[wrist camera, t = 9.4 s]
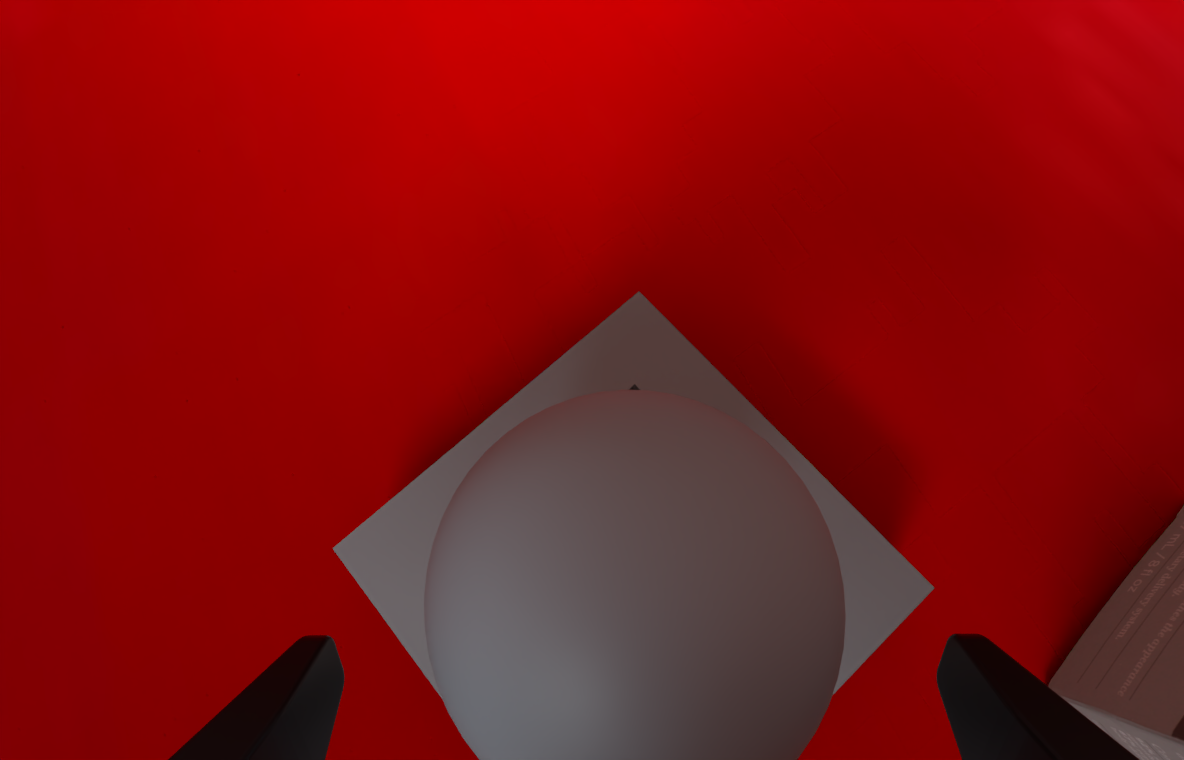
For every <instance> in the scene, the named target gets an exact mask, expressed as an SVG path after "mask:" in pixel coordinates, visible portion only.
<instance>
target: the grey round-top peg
mask: <svg viewBox="0 0 1184 760" xmlns="http://www.w3.org/2000/svg"><path fill="white" fill-rule="evenodd" d="M424 620H425V633H426V640H427V647H428V654H429V658H430V662H431V666H432V669H433V673H434V677H435V680H436V684H437V686H438V689H439V691H440V694H441V696H442V698H443V701H444V703H445V706H446V708H447V711H448V713H449V714H450V716H451V718H452V720H453V721H454V723H455V725H456V727H457V728H458V730H459V732H460V733H461V735H462V737H463V739H464V740H465V741H466V743H467V744H468V745H469V747H470V748H471V749H472V750H473V752H474V753H475V754H476V756H477V757H478V758H479V760H797V759H798V758H799V756H800V755H801V753H802V752H803V750H804V749H805V747H806V746H807V744H808V743H809V741H810V740H811V738H812V737H813V736H814V734H815V732H816V730H817V728H818V726H819V724H820V722H821V720H822V718H823V716H824V714H825V712H826V710H827V708H828V706H829V703H830V700H831V697H832V694H833V691H834V688H835V685H836V682H837V679H838V675H839V670H840V665H841V660H842V655H843V649H844V637H845V621H846V612H845V597H844V585H843V580H842V575H841V569H840V564H839V559H838V556H837V552H836V549H835V546H834V543H833V540H832V537H831V534H830V531H829V529H828V526H827V524H826V522H825V520H824V518H823V516H822V514H821V511H820V509H819V507H818V505H817V503H816V502H815V500H814V498H813V497H812V495H811V494H810V492H809V490H808V489H807V487H806V486H805V484H804V482H803V481H802V480H801V478H800V477H799V476H798V475H797V473H796V472H795V471H794V470H793V468H792V467H791V466H790V465H789V463H788V462H787V461H786V460H785V459H784V458H783V457H782V456H781V455H780V454H779V453H778V452H777V451H776V450H775V449H774V448H773V447H772V446H771V445H770V444H769V443H768V442H767V441H766V440H764V439H763V438H762V437H760V436H759V435H758V434H756V433H755V432H754V431H752V430H751V429H750V428H749V427H747V426H746V425H745V424H743V423H741V422H739V421H738V420H736V419H734V418H732V417H731V416H729V415H727V414H726V413H724V412H722V411H720V410H717V409H715V408H713V407H710V406H708V405H706V404H703V403H701V402H699V401H695V400H692V399H688V398H685V397H681V396H678V395H674V394H669V393H662V392H656V391H649V390H615V391H605V392H597V393H593V394H588V395H584V396H580V397H575V398H572V399H569V400H566V401H564V402H561V403H558V404H556V405H553V406H550V407H548V408H546V409H544V410H542V411H541V412H539V413H537V414H535V415H533V416H531V417H529V418H527V419H526V420H524V421H523V422H521V423H520V424H518V425H517V426H516V427H514V428H513V429H511V430H510V431H508V432H507V433H506V434H505V435H503V436H502V437H501V438H500V439H499V440H498V441H497V442H496V443H495V444H493V445H492V446H491V447H490V448H489V449H488V450H487V451H486V452H485V453H484V454H483V455H482V457H481V458H480V459H479V460H478V461H477V462H476V463H475V465H474V466H473V467H472V468H471V469H470V470H469V472H468V473H467V475H466V476H465V478H464V479H463V481H462V482H461V484H460V485H459V487H458V488H457V490H456V491H455V493H454V495H453V497H452V499H451V501H450V503H449V505H448V507H447V509H446V511H445V513H444V515H443V517H442V519H441V522H440V525H439V528H438V531H437V533H436V536H435V539H434V542H433V546H432V550H431V554H430V559H429V563H428V567H427V574H426V584H425V594H424Z"/></svg>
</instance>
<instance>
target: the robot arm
mask: <svg viewBox="0 0 1184 760" xmlns="http://www.w3.org/2000/svg"><path fill="white" fill-rule="evenodd" d="M937 684H938V688H939V691H940V694H941V697H942V700H943V703H944V706H945V709H946V712H947V715H948V718H949V721H950V724H951V727H952V730H953V733H954V736H955V739H956V742H957V745H958V748H959V751H960V754H961V757H962V760H1140V759H1138V758H1137V757H1136V756H1135V755H1133V754H1132V753H1131V752H1130V751H1128V750H1127V749H1126V748H1124V747H1123V746H1122V745H1121V744H1119V743H1118V742H1117V741H1116V740H1114V739H1113V738H1112V737H1111V736H1109V735H1108V734H1107V733H1106V732H1104V731H1103V730H1102V729H1101V728H1099V727H1098V726H1097V725H1096V724H1094V723H1093V722H1092V721H1091V720H1089V719H1088V718H1087V717H1086V716H1084V715H1083V714H1082V713H1081V712H1079V711H1078V710H1077V709H1076V708H1074V707H1073V706H1072V705H1071V704H1069V703H1068V702H1067V701H1066V700H1064V699H1063V698H1062V697H1061V696H1059V695H1058V694H1057V693H1056V692H1054V691H1053V690H1052V689H1051V688H1049V687H1048V686H1047V685H1046V684H1044V683H1043V682H1042V681H1041V680H1039V679H1038V678H1037V677H1036V676H1034V675H1033V674H1032V673H1031V672H1029V671H1028V670H1027V669H1025V668H1024V667H1023V666H1022V665H1020V664H1019V663H1018V662H1017V661H1015V660H1014V659H1013V658H1012V657H1010V656H1009V655H1008V654H1007V653H1005V652H1004V651H1003V650H1002V649H1000V648H999V647H998V646H997V645H995V644H994V643H993V642H992V641H990V640H989V639H988V638H986V637H984V636H982V635H980V634H953V635H952V636H950V637H949V638H948V640H947V643H946V646H945V649H944V652H943V655H942V658H941V660H940V663H939V666H938V669H937ZM343 686H344V670H343V667H342V664H341V661H340V658H339V655H338V652H337V648H336V645H335V642H334V640H333V639H332V638H331V637H330V636H327V635H309V636H304V637H302V638H300V639H299V640H297V641H296V642H295V643H294V644H293V645H292V646H291V647H290V648H289V649H287V650H286V651H285V652H284V653H283V654H282V655H281V656H280V657H279V658H278V659H277V660H276V661H274V662H273V663H272V664H271V665H270V666H269V667H268V668H267V669H266V670H265V671H264V672H263V673H261V674H260V675H259V676H258V677H257V678H256V679H255V680H254V681H253V682H252V683H251V684H250V685H248V686H247V687H246V688H245V689H244V690H243V691H242V692H241V693H240V694H239V695H238V696H237V697H235V698H234V699H233V700H232V701H231V702H230V703H229V704H228V705H227V706H226V707H225V708H224V709H222V710H221V711H220V712H219V713H218V714H217V715H216V716H215V717H214V718H213V719H212V720H211V721H209V722H208V723H207V724H206V725H205V726H204V727H203V728H202V729H201V730H200V731H199V732H198V733H196V734H195V735H194V736H193V737H192V738H191V739H190V740H189V741H188V742H187V743H186V744H185V745H183V746H182V747H181V748H180V749H179V750H178V751H177V752H176V753H175V754H174V755H173V756H172V757H170V758H169V759H168V760H325V757H326V753H327V750H328V746H329V742H330V738H331V734H332V730H333V726H334V722H335V718H336V714H337V710H338V706H339V703H340V699H341V695H342V691H343Z"/></svg>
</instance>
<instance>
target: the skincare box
mask: <svg viewBox="0 0 1184 760" xmlns="http://www.w3.org/2000/svg"><path fill="white" fill-rule="evenodd" d="M1048 687H1049V688H1051V689H1052V690H1053V691H1054V692H1056V693H1057V694H1058V695H1059V696H1061V697H1062V698H1063V699H1064V700H1066V701H1067V702H1068V703H1069V704H1071V705H1072V706H1073V707H1074V708H1076V709H1077V710H1078V711H1079V712H1081V713H1082V714H1083V715H1084V716H1086V717H1087V718H1088V719H1089V720H1091V721H1092V722H1093V723H1094V724H1096V725H1097V726H1098V727H1099V728H1101V729H1102V730H1103V731H1104V732H1106V733H1107V734H1108V735H1109V736H1111V737H1112V738H1113V739H1114V740H1116V741H1117V742H1118V743H1119V744H1121V745H1122V746H1123V747H1124V748H1126V749H1127V750H1128V751H1130V752H1131V753H1132V754H1133V755H1135V756H1136V757H1137V758H1138V759H1140V760H1184V506H1183V507H1182V509H1181V510H1180V511H1179V513H1178V514H1177V517H1176V519H1175V520H1174V521H1173V522H1172V523H1171V525H1170V526H1169V527H1168V528H1167V529H1166V530H1165V531H1164V532H1163V534H1162V535H1161V536H1160V537H1159V538H1158V540H1157V541H1156V542H1155V543H1154V544H1153V545H1152V547H1151V548H1150V549H1149V550H1148V551H1147V553H1146V554H1145V555H1144V556H1143V557H1142V559H1141V560H1140V561H1139V562H1138V564H1137V565H1136V566H1135V567H1134V568H1133V570H1132V571H1131V572H1130V573H1129V575H1128V576H1127V577H1126V578H1125V580H1124V581H1123V582H1122V584H1121V585H1120V586H1119V587H1118V589H1117V590H1116V591H1115V592H1114V594H1113V595H1112V596H1111V598H1110V599H1109V601H1108V602H1107V603H1106V604H1105V606H1104V607H1103V608H1102V609H1101V611H1100V612H1099V613H1098V615H1097V616H1096V618H1095V619H1094V620H1093V622H1092V623H1091V624H1090V626H1089V627H1088V628H1087V630H1086V631H1085V632H1084V634H1083V635H1082V636H1081V638H1080V639H1079V641H1078V642H1077V643H1076V645H1075V646H1074V648H1073V649H1072V651H1071V652H1070V653H1069V655H1068V656H1067V658H1066V659H1065V661H1064V662H1063V664H1062V665H1061V667H1060V668H1059V669H1058V671H1057V672H1056V674H1055V675H1054V676H1053V678H1052V679H1051V681H1050V683H1049V686H1048Z"/></svg>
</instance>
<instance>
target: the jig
mask: <svg viewBox="0 0 1184 760" xmlns="http://www.w3.org/2000/svg"><path fill="white" fill-rule="evenodd" d="M615 390H649V391H656V392H662V393H669V394H674V395H678V396H681V397H685V398H688V399H692V400H695V401H699V402H701V403H703V404H706V405H708V406H710V407H713V408H715V409H717V410H720V411H722V412H724V413H726V414H727V415H729V416H731V417H732V418H734V419H736V420H738V421H739V422H741V423H743V424H745V425H746V426H747V427H749V428H750V429H751V430H752V431H754V432H755V433H756V434H758V435H759V436H760V437H762V438H763V439H764V440H766V441H767V442H768V443H769V444H770V445H771V446H772V447H773V448H774V449H775V450H776V451H777V452H778V453H779V454H780V455H781V456H782V457H783V458H784V459H785V460H786V461H787V462H788V463H789V465H790V466H791V467H792V468H793V470H794V471H795V472H796V473H797V475H798V476H799V477H800V478H801V480H802V481H803V482H804V484H805V486H806V487H807V489H808V490H809V492H810V494H811V495H812V497H813V498H814V500H815V502H816V503H817V505H818V507H819V509H820V511H821V514H822V516H823V518H824V520H825V522H826V524H827V526H828V529H829V531H830V534H831V537H832V540H833V543H834V546H835V549H836V552H837V556H838V559H839V564H840V569H841V575H842V580H843V585H844V597H845V612H846V621H845V637H844V649H843V655H842V660H841V665H840V670H839V675H838V679H837V682H836V685H835V688H834V691H833V694H834V693H835V692H836V691H837V690H838V689H839V688H840V687H841V686H842V685H843V684H844V682H845V681H846V680H847V679H848V678H849V677H850V676H851V675H852V674H853V673H854V672H855V671H856V670H857V669H858V668H859V667H860V666H861V665H862V664H863V663H864V661H865V660H866V659H867V658H868V657H869V656H870V655H871V654H872V653H873V652H874V651H875V650H876V649H877V648H878V647H879V646H880V645H881V644H882V643H883V642H884V640H885V639H886V638H887V637H888V636H889V635H890V634H891V633H892V632H893V631H894V630H895V629H896V628H897V627H898V626H899V625H900V624H901V623H902V622H903V621H904V620H905V618H906V617H907V616H908V615H909V614H910V613H911V612H912V611H913V610H914V609H915V608H916V607H917V606H918V605H919V604H920V603H921V602H922V601H923V600H924V599H925V597H926V596H927V595H928V594H929V593H930V592H931V591H932V590H933V589H934V587H933V586H932V585H931V584H930V583H929V582H928V581H927V580H926V579H925V578H924V577H923V576H922V575H921V574H920V573H919V572H918V571H917V570H916V569H915V568H914V567H913V566H912V565H911V564H910V563H909V562H908V561H907V560H906V559H905V558H904V557H903V556H902V555H901V554H900V553H899V552H898V551H897V550H896V549H895V548H894V547H893V546H892V545H891V544H890V543H889V542H888V541H887V540H886V539H885V538H884V537H883V536H882V535H881V534H880V533H879V532H878V531H877V530H876V529H875V528H874V527H873V526H872V525H871V524H870V523H869V522H868V521H867V520H866V519H865V518H864V517H863V516H862V515H861V514H860V513H859V512H858V511H857V510H856V509H855V508H854V507H853V506H852V505H851V504H850V503H849V502H848V501H847V500H846V499H845V498H844V497H843V496H842V495H841V494H840V493H839V492H838V491H837V490H836V489H835V488H834V487H833V486H832V485H831V484H830V483H829V482H828V481H827V480H826V479H825V478H824V477H823V476H822V475H821V474H820V473H819V472H818V471H817V469H816V468H815V467H814V466H813V465H812V464H811V463H810V462H809V461H808V460H807V459H806V458H805V457H804V456H803V455H802V454H801V453H800V452H799V451H798V450H797V449H796V448H795V447H794V446H793V445H792V444H791V443H790V442H789V441H788V440H787V439H786V438H785V437H784V436H783V435H782V434H781V433H780V432H779V431H778V430H777V429H776V428H775V427H774V426H773V425H772V424H771V423H770V422H769V421H768V420H767V419H766V418H765V417H764V416H763V415H762V414H761V413H760V412H759V411H758V410H757V409H756V408H755V407H754V406H753V405H752V404H751V403H750V402H749V401H748V400H747V399H746V398H745V397H744V396H743V395H742V394H741V393H740V392H739V391H738V390H737V389H736V388H735V387H734V386H733V385H732V384H731V383H730V382H729V381H728V380H727V379H726V378H725V377H724V376H723V375H722V374H721V373H720V372H719V371H718V370H717V369H716V368H715V367H714V366H713V365H712V364H711V363H710V362H709V361H708V360H707V359H706V358H705V357H704V356H703V355H702V354H701V353H700V352H699V351H698V350H697V349H696V348H695V347H694V346H693V345H692V344H691V343H690V342H689V341H688V340H687V339H686V338H685V337H684V336H683V335H682V334H681V333H680V332H679V331H678V330H677V329H676V328H675V327H674V326H673V325H672V324H671V323H670V322H669V321H668V320H667V319H666V318H665V317H664V316H663V315H662V314H661V313H660V312H659V311H658V310H657V309H656V308H655V307H654V306H653V305H652V304H651V303H650V302H649V301H648V300H647V299H646V298H645V297H644V296H643V295H642V294H641V293H640V292H638V293H636V294H635V295H634V296H633V297H632V298H630V299H629V300H628V301H627V302H626V303H624V304H623V305H622V306H621V307H620V308H618V309H617V310H616V311H615V312H614V313H612V314H611V315H610V316H609V317H608V318H607V319H605V320H604V321H603V322H602V323H601V324H599V325H598V326H597V327H596V328H595V329H593V330H592V331H591V332H590V333H589V334H587V335H586V336H585V337H584V338H583V339H582V340H580V341H579V342H578V343H577V344H576V345H574V346H573V347H572V348H571V349H570V350H568V351H567V352H566V353H565V354H564V355H562V356H561V357H560V358H559V359H558V360H557V361H555V362H554V363H553V364H552V365H551V366H549V367H548V368H547V369H546V370H545V371H543V372H542V373H541V374H540V375H539V376H537V377H536V378H535V379H534V380H533V381H531V382H530V383H529V384H528V385H527V386H526V387H524V388H523V389H522V390H521V391H520V392H518V393H517V394H516V395H515V396H514V397H512V398H511V399H510V400H509V401H508V402H506V403H505V404H504V405H503V406H502V407H501V408H499V409H498V410H497V411H496V412H495V413H493V414H492V415H491V416H490V417H489V418H487V419H486V420H485V421H484V422H483V423H481V424H480V425H479V426H478V427H477V428H475V429H474V430H473V431H472V432H471V433H470V434H468V435H467V436H466V437H465V438H464V439H462V440H461V441H460V442H459V443H458V444H456V445H455V446H454V447H453V448H452V449H450V450H449V451H448V452H447V453H446V454H445V455H443V456H442V457H441V458H440V459H439V460H437V461H436V462H435V463H434V464H433V465H431V466H430V467H429V468H428V469H427V470H425V471H424V472H423V473H422V474H421V475H420V476H418V477H417V478H416V479H415V480H414V481H412V482H411V483H410V484H409V485H408V486H406V487H405V488H404V489H403V490H402V491H400V492H399V493H398V494H397V495H396V496H394V497H393V498H392V499H391V500H390V501H389V502H387V503H386V504H385V505H384V506H383V507H381V508H380V509H379V510H378V511H377V512H375V513H374V514H373V515H372V516H371V517H369V518H368V519H367V520H366V521H365V522H364V523H362V524H361V525H360V526H359V527H358V528H356V529H355V530H354V531H353V532H352V533H350V534H349V535H348V536H347V537H346V538H344V539H343V540H342V541H341V542H340V543H338V544H337V545H336V546H335V547H334V548H333V550H334V551H335V552H336V554H337V555H338V556H339V558H340V559H341V561H342V562H343V563H344V565H345V566H346V567H347V569H348V570H349V572H350V573H351V574H352V576H353V577H354V578H355V580H356V581H357V583H358V584H359V585H360V587H361V588H362V589H363V591H364V592H365V594H366V595H367V596H368V598H369V599H370V600H371V602H372V603H373V604H374V606H375V607H376V609H377V610H378V611H379V613H380V614H381V615H382V617H383V618H384V620H385V621H386V622H387V624H388V625H389V626H390V628H391V629H392V631H393V632H394V633H395V635H396V636H397V637H398V639H399V640H400V642H401V643H402V644H403V646H404V647H405V648H406V650H407V651H408V653H409V654H410V655H411V657H412V658H413V659H414V661H415V662H416V664H417V665H418V666H419V668H420V669H421V670H422V672H423V673H424V674H425V676H426V677H427V679H428V680H429V681H430V683H431V684H432V685H433V687H434V688H435V690H436V691H437V692H438V694H439V695H440V696H441V694H440V691H439V689H438V686H437V684H436V680H435V677H434V673H433V669H432V666H431V662H430V658H429V654H428V647H427V640H426V633H425V620H424V594H425V584H426V574H427V567H428V563H429V559H430V554H431V550H432V546H433V542H434V539H435V536H436V533H437V531H438V528H439V525H440V522H441V519H442V517H443V515H444V513H445V511H446V509H447V507H448V505H449V503H450V501H451V499H452V497H453V495H454V493H455V491H456V490H457V488H458V487H459V485H460V484H461V482H462V481H463V479H464V478H465V476H466V475H467V473H468V472H469V470H470V469H471V468H472V467H473V466H474V465H475V463H476V462H477V461H478V460H479V459H480V458H481V457H482V455H483V454H484V453H485V452H486V451H487V450H488V449H489V448H490V447H491V446H492V445H493V444H495V443H496V442H497V441H498V440H499V439H500V438H501V437H502V436H503V435H505V434H506V433H507V432H508V431H510V430H511V429H513V428H514V427H516V426H517V425H518V424H520V423H521V422H523V421H524V420H526V419H527V418H529V417H531V416H533V415H535V414H537V413H539V412H541V411H542V410H544V409H546V408H548V407H550V406H553V405H556V404H558V403H561V402H564V401H566V400H569V399H572V398H575V397H580V396H584V395H588V394H593V393H597V392H605V391H615ZM833 694H832V695H833ZM441 698H442V696H441ZM442 699H443V698H442Z"/></svg>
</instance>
